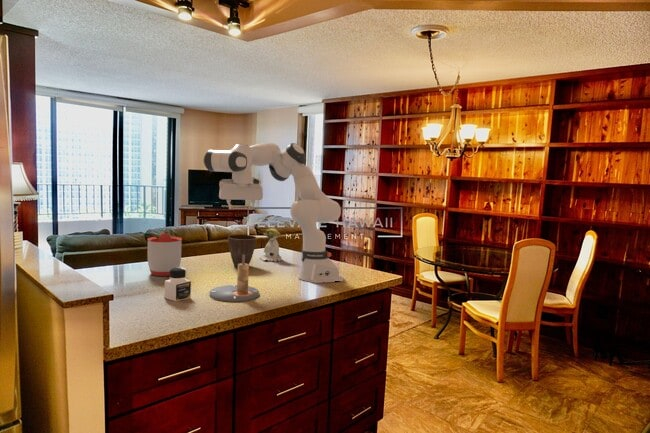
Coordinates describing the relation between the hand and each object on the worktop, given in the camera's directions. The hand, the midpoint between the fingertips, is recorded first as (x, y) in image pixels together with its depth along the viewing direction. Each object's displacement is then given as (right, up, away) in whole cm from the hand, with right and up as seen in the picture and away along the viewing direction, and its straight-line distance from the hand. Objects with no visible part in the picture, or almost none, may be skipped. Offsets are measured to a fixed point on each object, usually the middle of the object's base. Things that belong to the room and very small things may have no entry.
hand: (240, 209), depth 196 cm
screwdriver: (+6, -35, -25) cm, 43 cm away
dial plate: (+2, -36, -22) cm, 42 cm away
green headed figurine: (+7, -29, +49) cm, 58 cm away
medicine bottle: (-19, -36, -31) cm, 51 cm away
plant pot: (-5, -30, +28) cm, 42 cm away
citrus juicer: (-38, -31, +5) cm, 49 cm away
